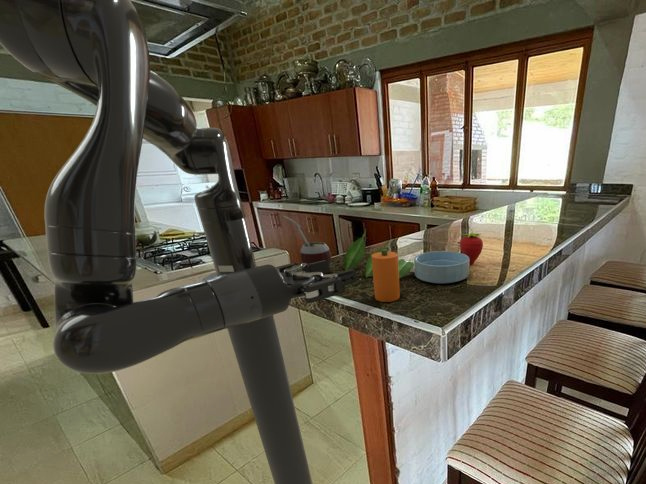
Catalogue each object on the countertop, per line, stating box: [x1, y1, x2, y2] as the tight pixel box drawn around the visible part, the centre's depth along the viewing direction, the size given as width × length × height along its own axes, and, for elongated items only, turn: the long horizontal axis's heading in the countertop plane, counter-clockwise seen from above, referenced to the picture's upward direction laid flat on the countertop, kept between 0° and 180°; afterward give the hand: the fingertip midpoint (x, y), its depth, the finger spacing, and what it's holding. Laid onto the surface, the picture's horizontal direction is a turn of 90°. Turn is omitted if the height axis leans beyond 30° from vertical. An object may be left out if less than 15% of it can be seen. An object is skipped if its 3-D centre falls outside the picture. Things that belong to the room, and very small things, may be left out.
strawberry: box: [459, 226, 484, 266], centre depth 87 cm, size 6×8×10 cm
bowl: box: [413, 250, 470, 285], centre depth 80 cm, size 13×13×4 cm
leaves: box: [344, 229, 414, 279], centre depth 84 cm, size 18×6×13 cm
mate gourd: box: [283, 215, 332, 275], centre depth 79 cm, size 8×8×15 cm
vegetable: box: [370, 248, 401, 303], centre depth 68 cm, size 5×5×10 cm
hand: (340, 270), depth 59 cm, fingers open, 8 cm apart
